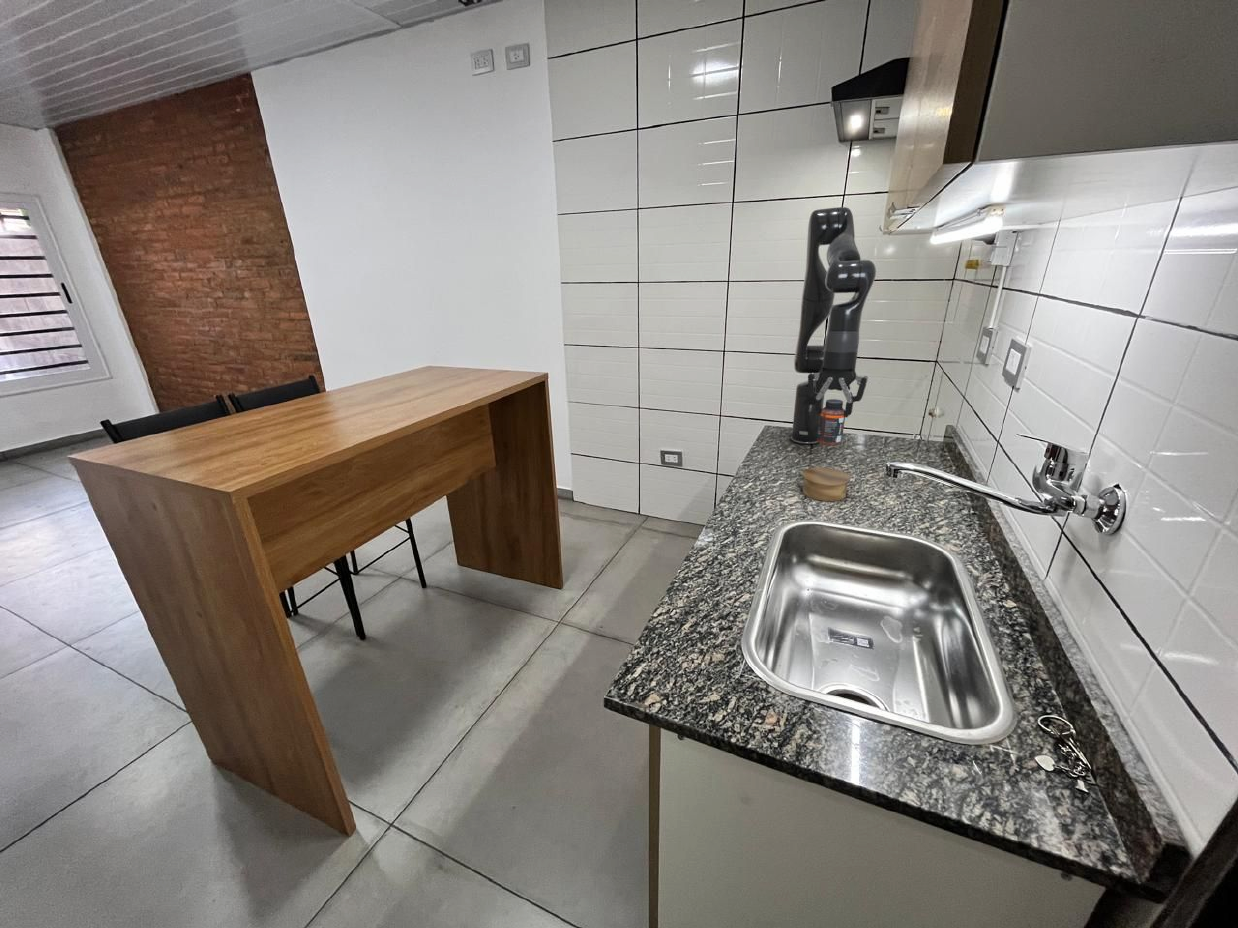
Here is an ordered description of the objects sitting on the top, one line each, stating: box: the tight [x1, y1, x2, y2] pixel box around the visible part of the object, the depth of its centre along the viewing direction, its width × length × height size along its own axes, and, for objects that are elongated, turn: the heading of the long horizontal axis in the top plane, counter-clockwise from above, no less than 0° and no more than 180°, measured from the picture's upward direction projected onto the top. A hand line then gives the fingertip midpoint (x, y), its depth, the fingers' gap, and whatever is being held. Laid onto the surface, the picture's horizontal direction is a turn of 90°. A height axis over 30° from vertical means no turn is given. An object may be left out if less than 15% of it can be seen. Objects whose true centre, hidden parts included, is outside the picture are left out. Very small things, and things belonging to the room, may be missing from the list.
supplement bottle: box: [818, 398, 846, 447], centre depth 125 cm, size 6×6×11 cm
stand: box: [801, 466, 851, 502], centre depth 131 cm, size 12×12×5 cm
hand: (832, 414), depth 124 cm, fingers closed on supplement bottle, 6 cm apart
